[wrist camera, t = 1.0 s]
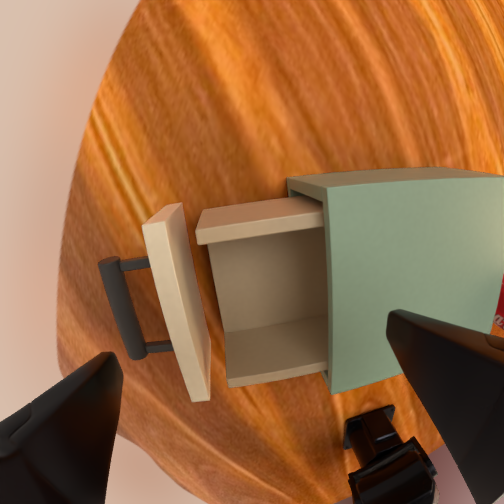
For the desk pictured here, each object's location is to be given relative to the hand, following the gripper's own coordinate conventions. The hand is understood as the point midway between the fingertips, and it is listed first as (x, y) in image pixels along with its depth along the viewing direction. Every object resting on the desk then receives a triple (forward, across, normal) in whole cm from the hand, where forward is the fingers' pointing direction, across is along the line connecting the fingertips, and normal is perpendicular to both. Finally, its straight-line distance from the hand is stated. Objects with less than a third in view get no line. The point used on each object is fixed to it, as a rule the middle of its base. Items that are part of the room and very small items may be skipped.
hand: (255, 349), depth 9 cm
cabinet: (+14, -12, +2) cm, 18 cm away
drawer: (+13, 0, +2) cm, 13 cm away
